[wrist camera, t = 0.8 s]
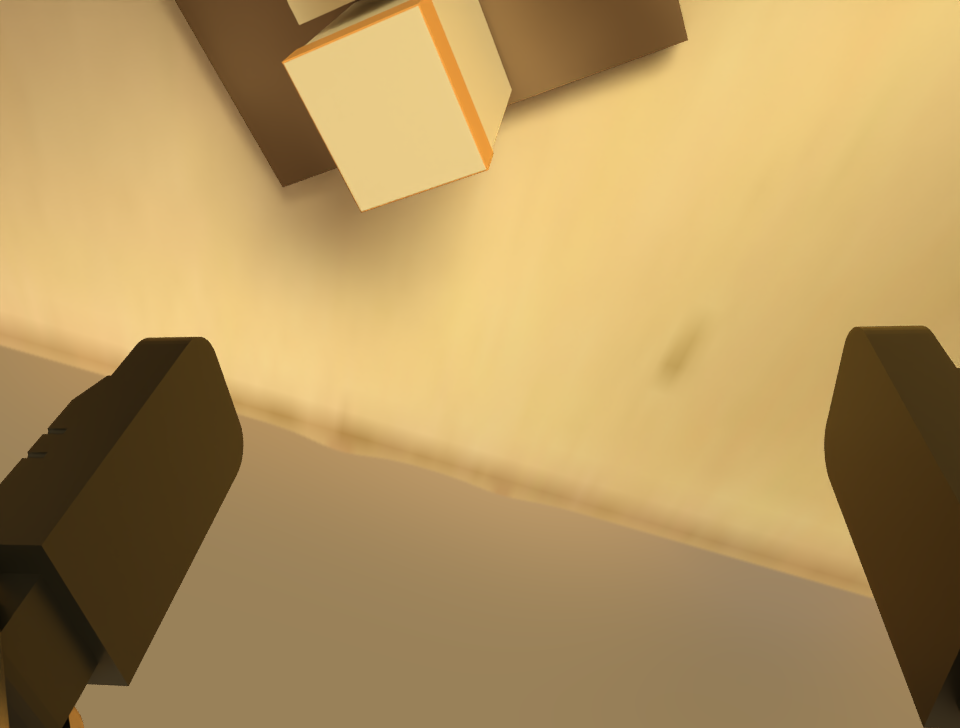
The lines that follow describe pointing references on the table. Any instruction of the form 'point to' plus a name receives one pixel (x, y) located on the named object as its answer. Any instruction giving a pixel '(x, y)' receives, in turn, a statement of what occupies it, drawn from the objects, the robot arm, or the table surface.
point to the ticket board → (316, 3)
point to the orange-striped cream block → (403, 95)
